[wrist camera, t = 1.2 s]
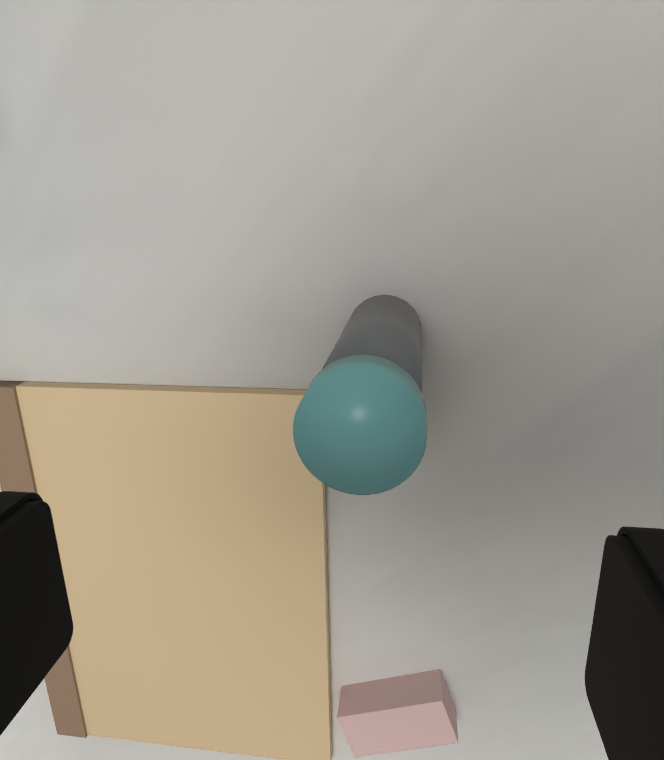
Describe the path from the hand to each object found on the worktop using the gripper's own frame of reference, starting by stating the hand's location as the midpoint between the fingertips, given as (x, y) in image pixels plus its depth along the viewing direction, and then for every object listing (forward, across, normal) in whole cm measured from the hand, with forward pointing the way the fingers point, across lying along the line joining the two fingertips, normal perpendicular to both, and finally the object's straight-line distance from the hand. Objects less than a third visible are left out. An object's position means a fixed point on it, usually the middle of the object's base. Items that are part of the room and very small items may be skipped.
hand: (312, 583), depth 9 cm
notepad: (+18, +12, +15) cm, 26 cm away
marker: (+18, 0, 0) cm, 18 cm away
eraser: (+18, -1, +22) cm, 29 cm away
